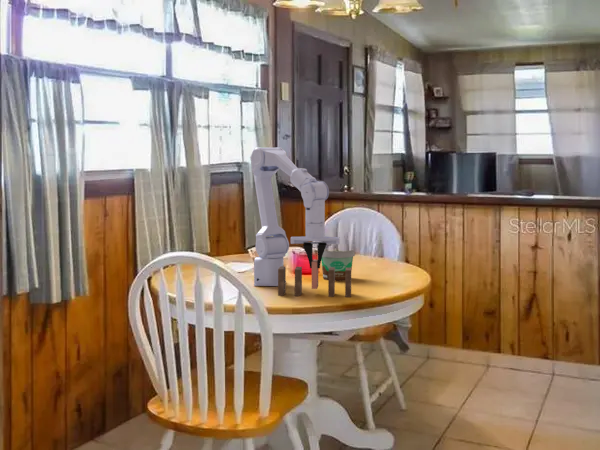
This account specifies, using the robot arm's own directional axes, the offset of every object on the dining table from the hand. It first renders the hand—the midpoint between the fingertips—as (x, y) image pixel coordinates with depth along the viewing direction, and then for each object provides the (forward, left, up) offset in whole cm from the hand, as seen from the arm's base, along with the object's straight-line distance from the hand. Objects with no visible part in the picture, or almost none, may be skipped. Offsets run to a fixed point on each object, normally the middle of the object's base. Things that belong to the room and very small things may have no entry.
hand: (315, 267), depth 212 cm
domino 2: (-5, 0, -8) cm, 10 cm away
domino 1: (-10, 0, -8) cm, 13 cm away
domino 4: (+5, 0, -8) cm, 10 cm away
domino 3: (0, 0, -6) cm, 6 cm away
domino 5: (+10, 0, -8) cm, 13 cm away
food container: (+6, +25, -8) cm, 27 cm away
